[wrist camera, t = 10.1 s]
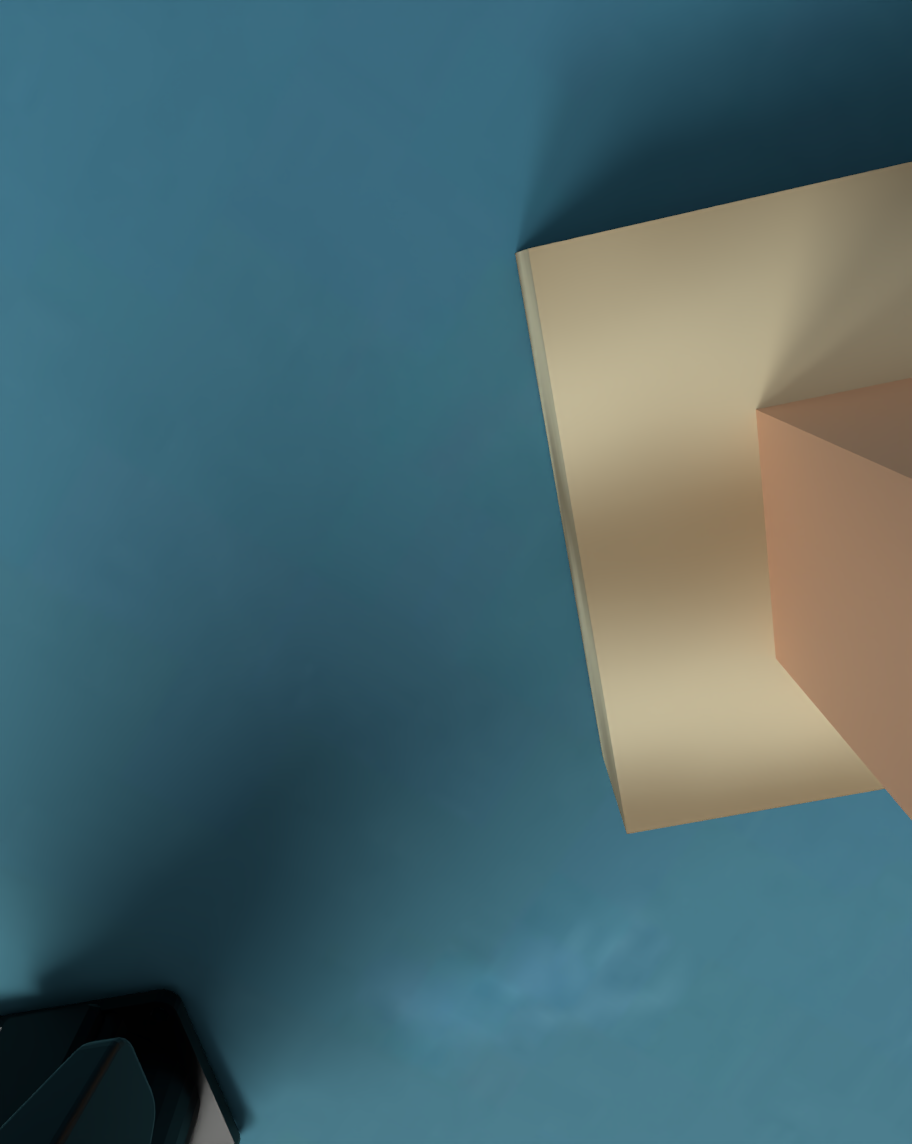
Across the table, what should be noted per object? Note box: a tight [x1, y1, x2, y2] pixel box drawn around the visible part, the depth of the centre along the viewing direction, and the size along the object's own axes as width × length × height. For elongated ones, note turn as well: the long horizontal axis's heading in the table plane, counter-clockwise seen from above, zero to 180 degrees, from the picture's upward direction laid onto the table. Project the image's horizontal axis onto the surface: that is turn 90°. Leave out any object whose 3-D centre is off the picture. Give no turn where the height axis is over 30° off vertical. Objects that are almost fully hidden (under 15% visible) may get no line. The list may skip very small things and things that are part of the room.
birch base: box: [515, 162, 912, 834], centre depth 17 cm, size 12×12×3 cm
